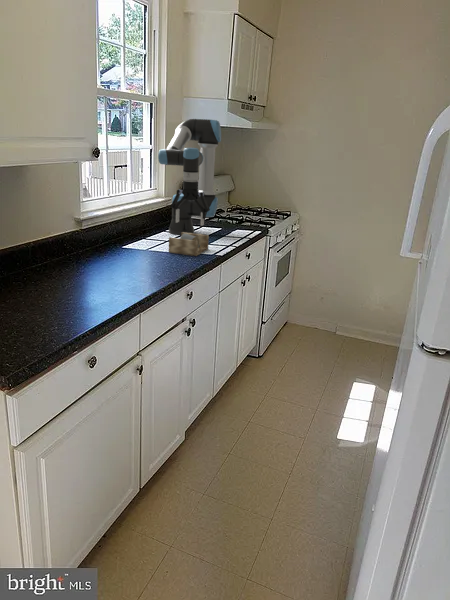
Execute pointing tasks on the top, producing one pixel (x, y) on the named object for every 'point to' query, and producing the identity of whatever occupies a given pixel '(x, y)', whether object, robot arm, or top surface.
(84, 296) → the top surface
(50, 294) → the top surface
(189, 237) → the ceramic mug
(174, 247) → the holder
